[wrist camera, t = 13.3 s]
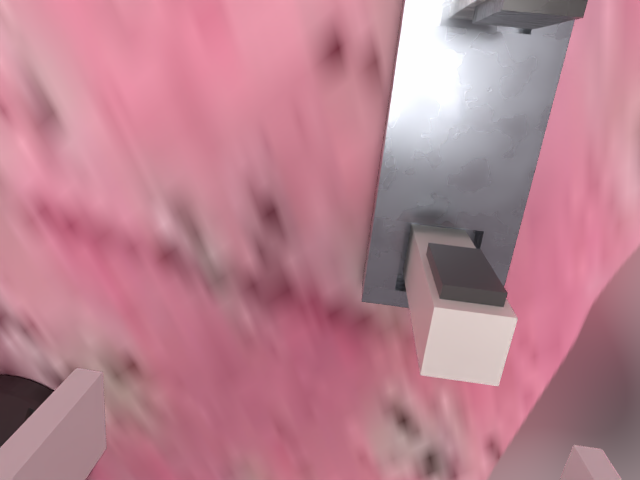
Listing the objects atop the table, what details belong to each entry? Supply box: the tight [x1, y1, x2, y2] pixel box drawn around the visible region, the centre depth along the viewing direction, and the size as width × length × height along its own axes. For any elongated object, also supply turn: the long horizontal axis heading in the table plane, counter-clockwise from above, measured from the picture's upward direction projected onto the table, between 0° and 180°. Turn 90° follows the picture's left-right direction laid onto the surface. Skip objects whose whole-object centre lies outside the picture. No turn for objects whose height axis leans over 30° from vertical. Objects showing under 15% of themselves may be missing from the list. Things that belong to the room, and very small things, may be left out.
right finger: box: [403, 224, 518, 386], centre depth 29 cm, size 5×4×13 cm
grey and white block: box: [362, 0, 588, 308], centre depth 27 cm, size 10×26×14 cm, turn 174°
